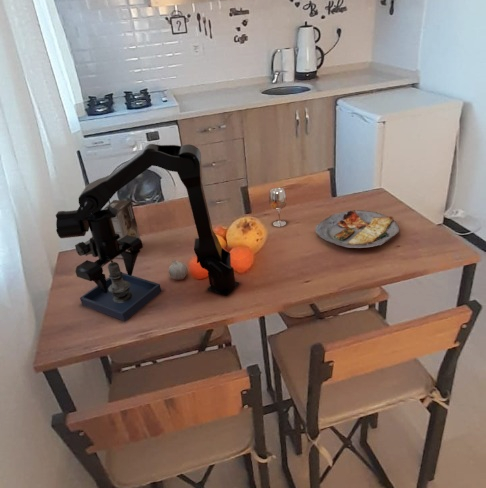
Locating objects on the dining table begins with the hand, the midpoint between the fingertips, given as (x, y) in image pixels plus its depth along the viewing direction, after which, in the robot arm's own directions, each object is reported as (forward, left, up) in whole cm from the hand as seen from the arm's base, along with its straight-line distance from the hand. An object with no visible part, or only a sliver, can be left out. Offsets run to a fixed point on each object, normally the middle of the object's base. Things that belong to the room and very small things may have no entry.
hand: (118, 283), depth 126 cm
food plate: (-45, -58, -5) cm, 74 cm away
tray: (0, 0, -5) cm, 5 cm away
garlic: (-8, -15, -5) cm, 18 cm away
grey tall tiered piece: (0, 0, -5) cm, 5 cm away
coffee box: (+18, -20, -5) cm, 27 cm away
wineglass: (-19, -55, -5) cm, 58 cm away
